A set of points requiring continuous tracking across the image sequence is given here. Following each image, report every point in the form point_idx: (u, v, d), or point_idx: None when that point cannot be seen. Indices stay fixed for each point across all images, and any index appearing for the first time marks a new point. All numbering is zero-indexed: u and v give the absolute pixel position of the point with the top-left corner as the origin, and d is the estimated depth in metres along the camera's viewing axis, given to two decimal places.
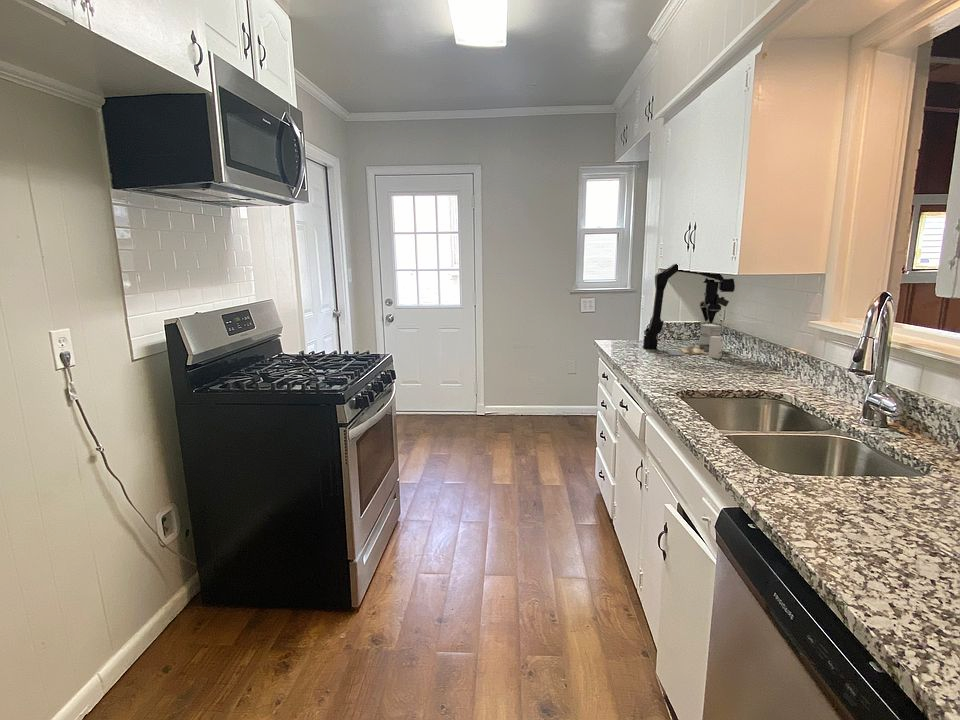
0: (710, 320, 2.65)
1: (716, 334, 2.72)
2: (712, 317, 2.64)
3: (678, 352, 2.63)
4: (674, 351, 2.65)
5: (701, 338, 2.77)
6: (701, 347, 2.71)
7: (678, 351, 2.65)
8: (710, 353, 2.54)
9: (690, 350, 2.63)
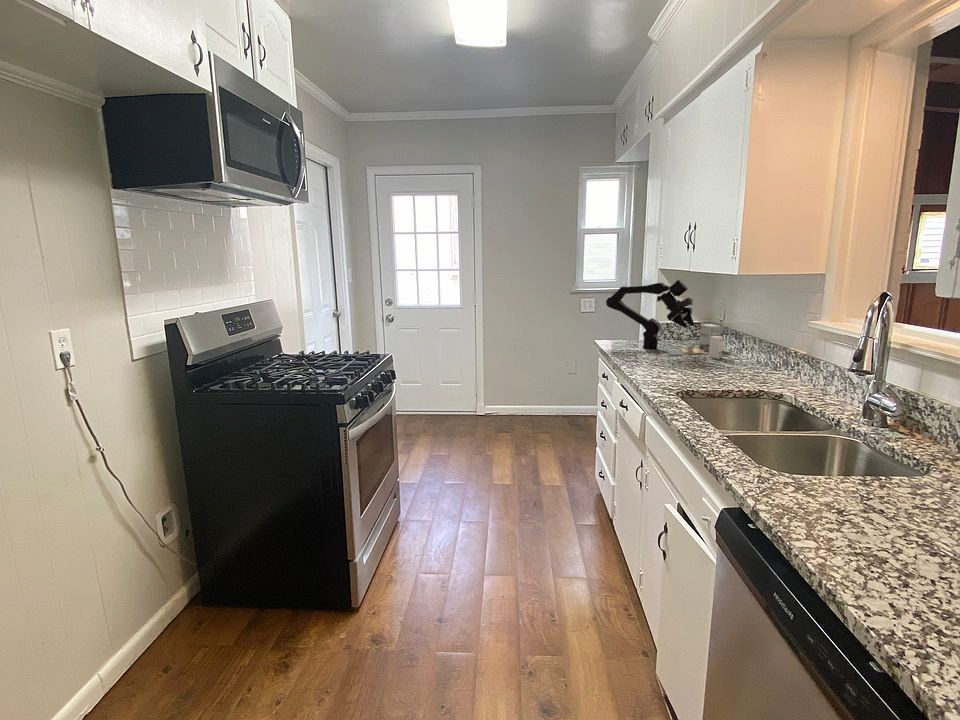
0: (683, 325, 2.59)
1: (716, 334, 2.72)
2: (682, 322, 2.59)
3: (678, 352, 2.63)
4: (674, 351, 2.65)
5: (701, 338, 2.77)
6: (701, 347, 2.71)
7: (678, 351, 2.65)
8: (710, 353, 2.54)
9: (690, 350, 2.63)
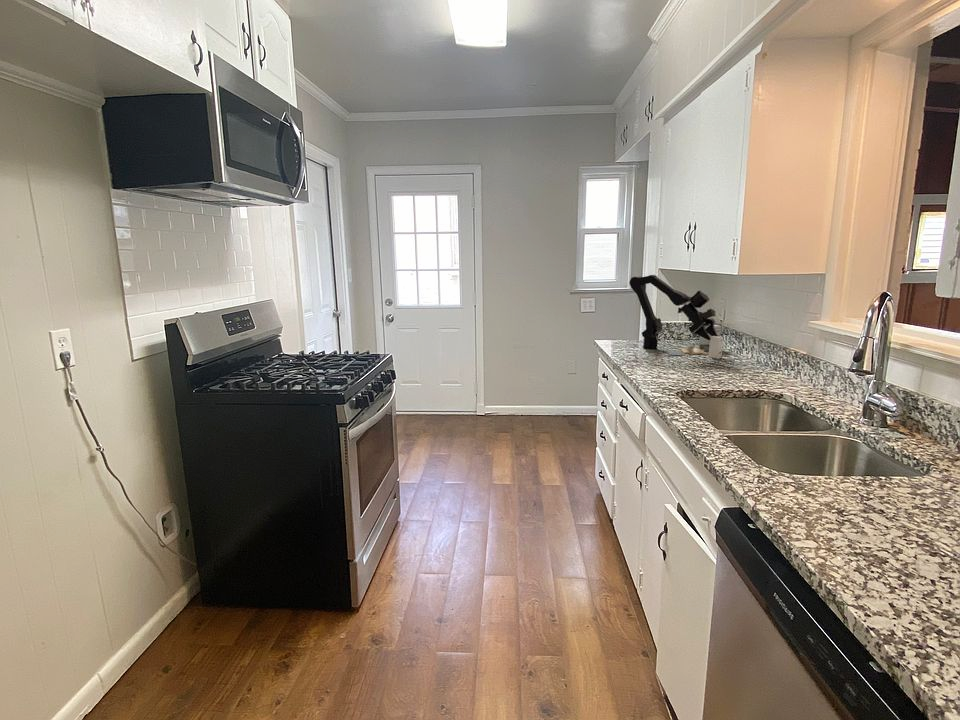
0: (706, 338, 2.51)
1: None
2: (705, 334, 2.50)
3: (678, 352, 2.63)
4: (674, 351, 2.65)
5: (701, 338, 2.77)
6: (701, 347, 2.71)
7: (678, 351, 2.65)
8: (710, 353, 2.54)
9: (690, 350, 2.63)
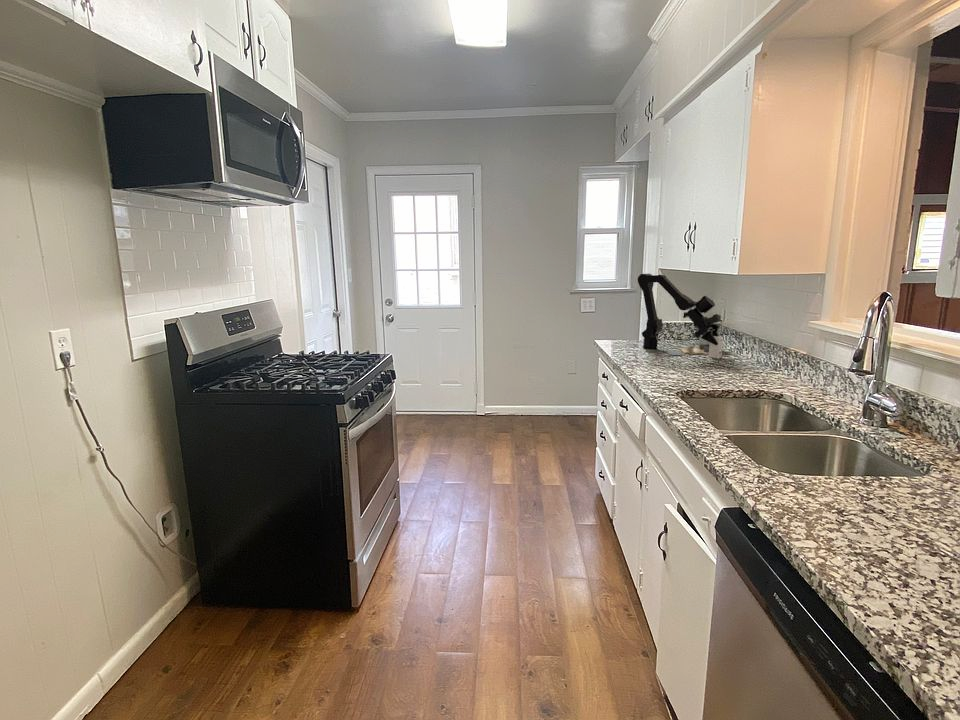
0: (713, 342, 2.51)
1: None
2: (712, 339, 2.51)
3: (678, 352, 2.63)
4: (674, 351, 2.65)
5: None
6: (701, 347, 2.71)
7: (678, 351, 2.65)
8: (710, 353, 2.54)
9: (690, 350, 2.63)
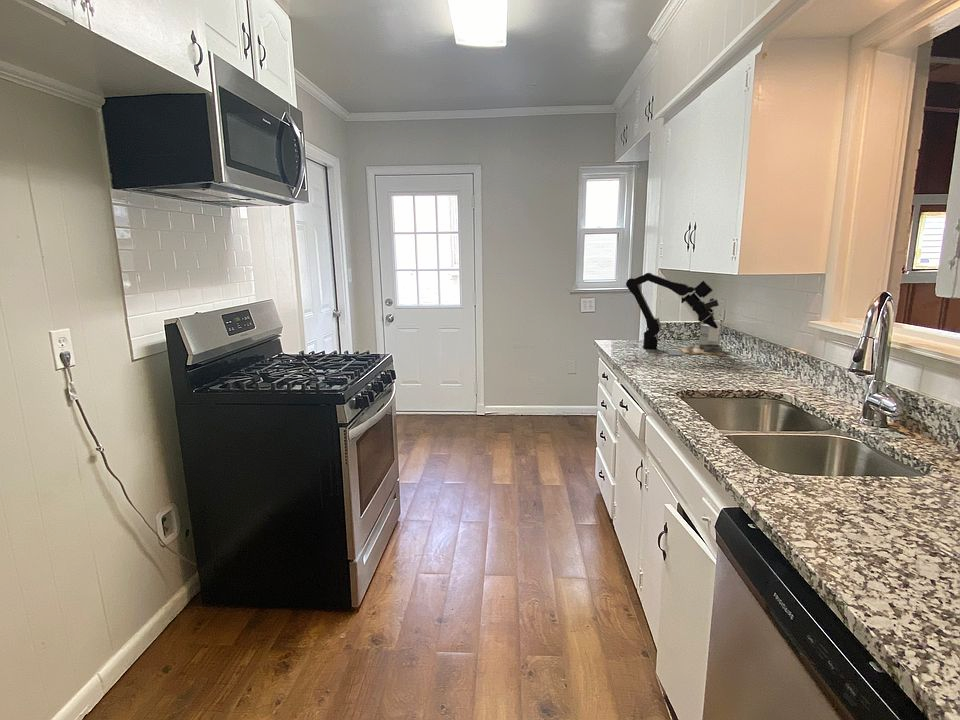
0: (714, 326, 2.58)
1: None
2: (713, 323, 2.58)
3: (678, 352, 2.63)
4: (675, 351, 2.65)
5: (701, 338, 2.77)
6: (701, 347, 2.71)
7: (679, 351, 2.65)
8: (709, 337, 2.61)
9: (690, 350, 2.63)
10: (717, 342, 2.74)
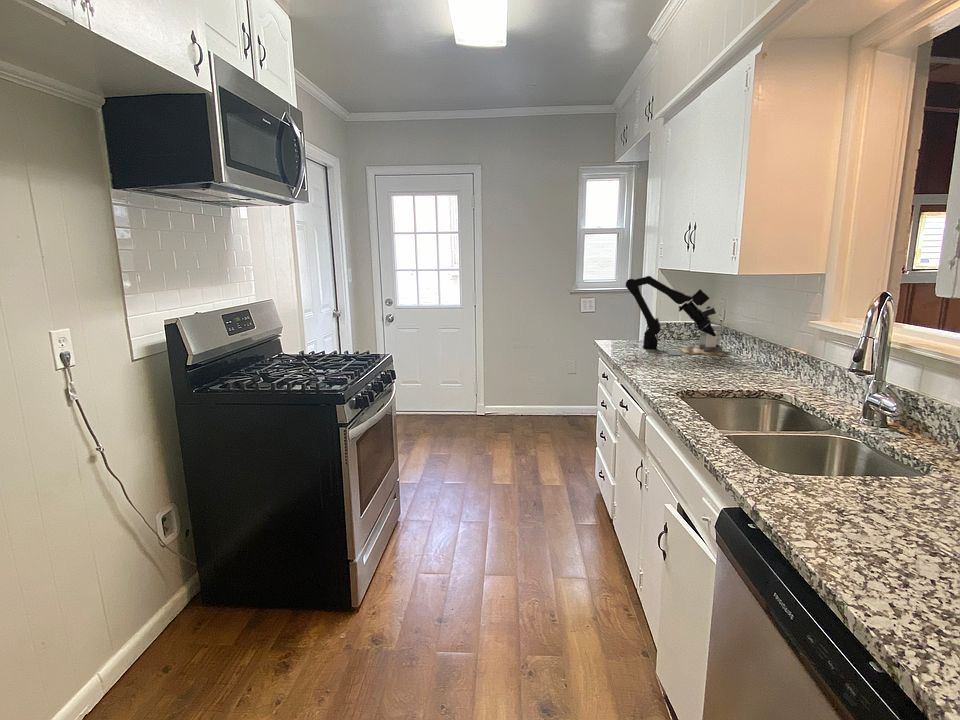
0: (712, 334, 2.60)
1: None
2: (711, 331, 2.60)
3: (678, 352, 2.63)
4: (675, 351, 2.65)
5: (701, 338, 2.77)
6: (701, 347, 2.71)
7: (679, 351, 2.65)
8: None
9: (690, 350, 2.63)
10: (717, 342, 2.74)
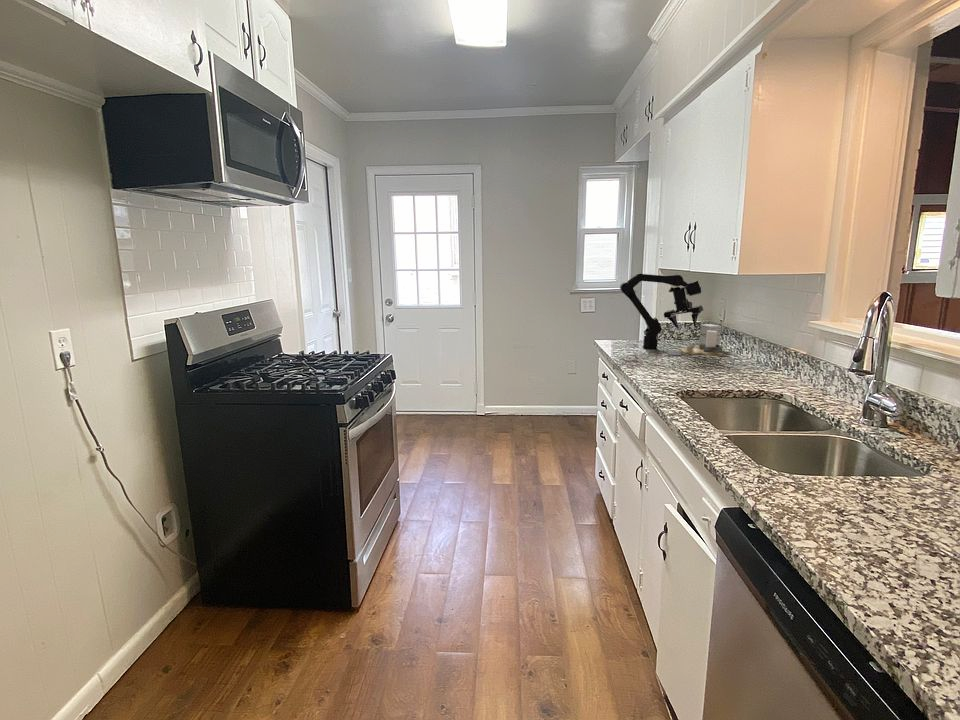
0: (695, 323, 2.68)
1: None
2: (696, 320, 2.68)
3: (678, 352, 2.63)
4: (675, 351, 2.65)
5: (701, 338, 2.77)
6: (701, 347, 2.71)
7: (679, 351, 2.65)
8: None
9: (690, 350, 2.63)
10: (717, 342, 2.74)
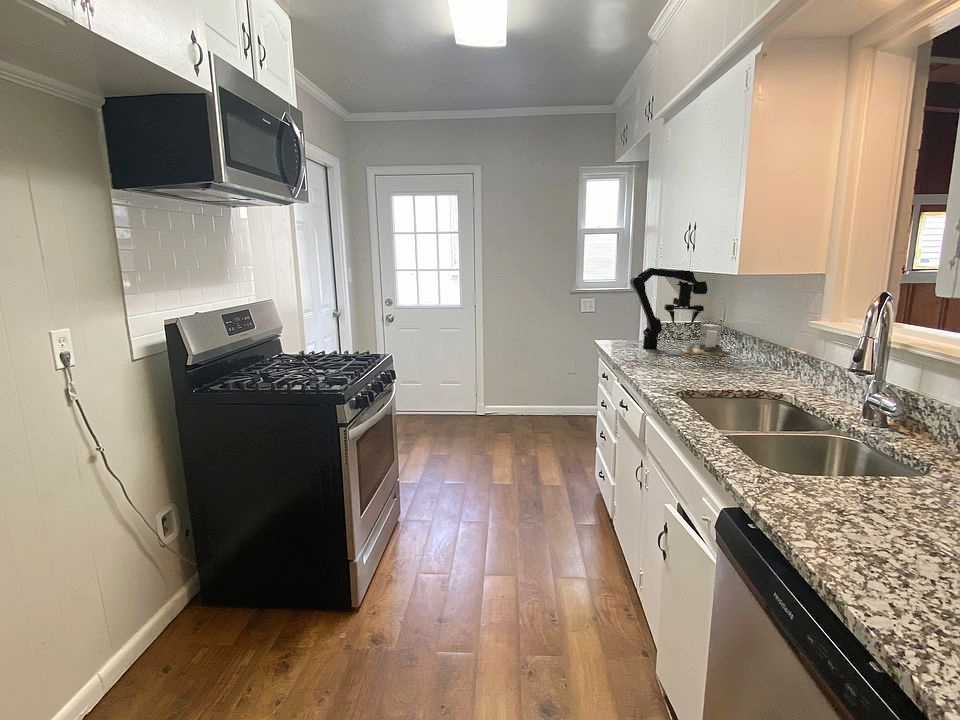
0: None
1: None
2: None
3: (678, 352, 2.63)
4: (675, 351, 2.65)
5: (701, 338, 2.77)
6: (701, 347, 2.71)
7: (679, 351, 2.65)
8: None
9: (690, 350, 2.63)
10: (717, 342, 2.74)
